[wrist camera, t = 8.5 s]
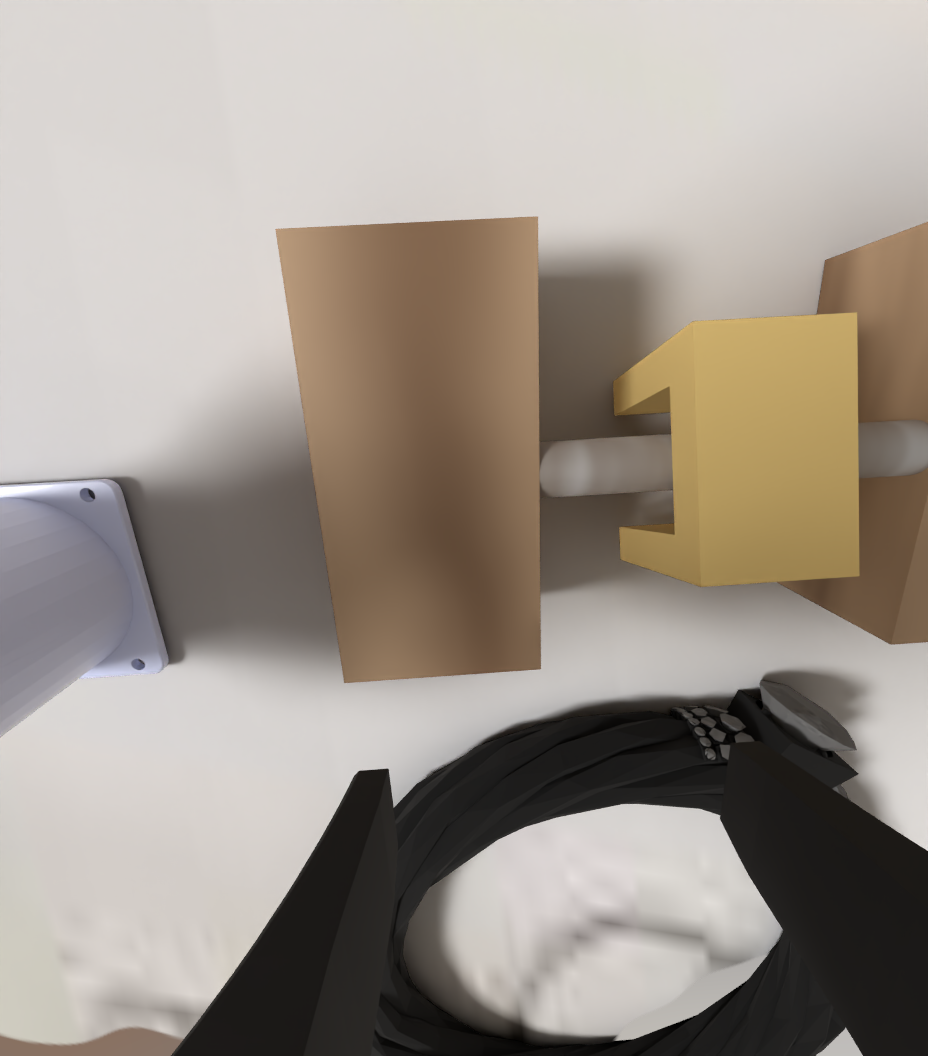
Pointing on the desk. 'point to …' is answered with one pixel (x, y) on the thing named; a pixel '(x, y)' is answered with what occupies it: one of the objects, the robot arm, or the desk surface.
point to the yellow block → (753, 450)
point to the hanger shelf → (537, 439)
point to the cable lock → (592, 783)
